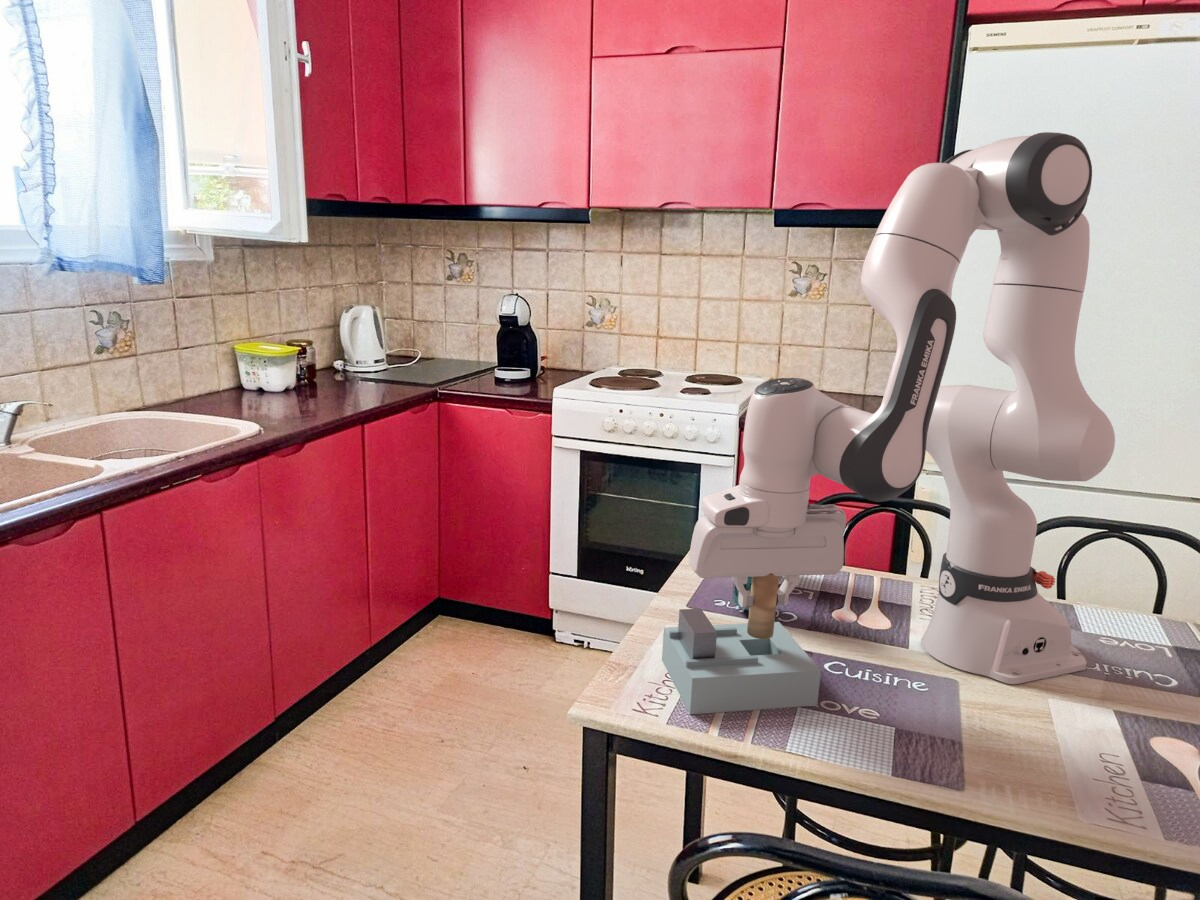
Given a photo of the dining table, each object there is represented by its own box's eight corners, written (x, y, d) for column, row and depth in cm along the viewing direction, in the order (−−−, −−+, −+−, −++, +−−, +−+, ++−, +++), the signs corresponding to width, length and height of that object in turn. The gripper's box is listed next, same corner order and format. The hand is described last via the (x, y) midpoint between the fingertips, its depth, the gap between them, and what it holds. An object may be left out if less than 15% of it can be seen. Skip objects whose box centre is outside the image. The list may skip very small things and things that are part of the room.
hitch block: (775, 653, 122) (779, 616, 121) (817, 705, 109) (821, 664, 107) (661, 660, 119) (664, 622, 118) (689, 714, 106) (692, 672, 104)
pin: (767, 627, 114) (774, 557, 112) (777, 638, 111) (784, 567, 109) (743, 628, 114) (750, 558, 111) (752, 639, 111) (759, 567, 108)
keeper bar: (698, 635, 115) (700, 608, 114) (714, 660, 108) (717, 632, 107) (677, 636, 115) (679, 609, 114) (692, 661, 108) (694, 633, 107)
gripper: (836, 497, 113) (825, 593, 117) (689, 498, 110) (682, 597, 113) (858, 511, 107) (846, 612, 111) (704, 513, 104) (696, 618, 107)
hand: (762, 605), depth 112 cm, fingers closed on pin, 3 cm apart
